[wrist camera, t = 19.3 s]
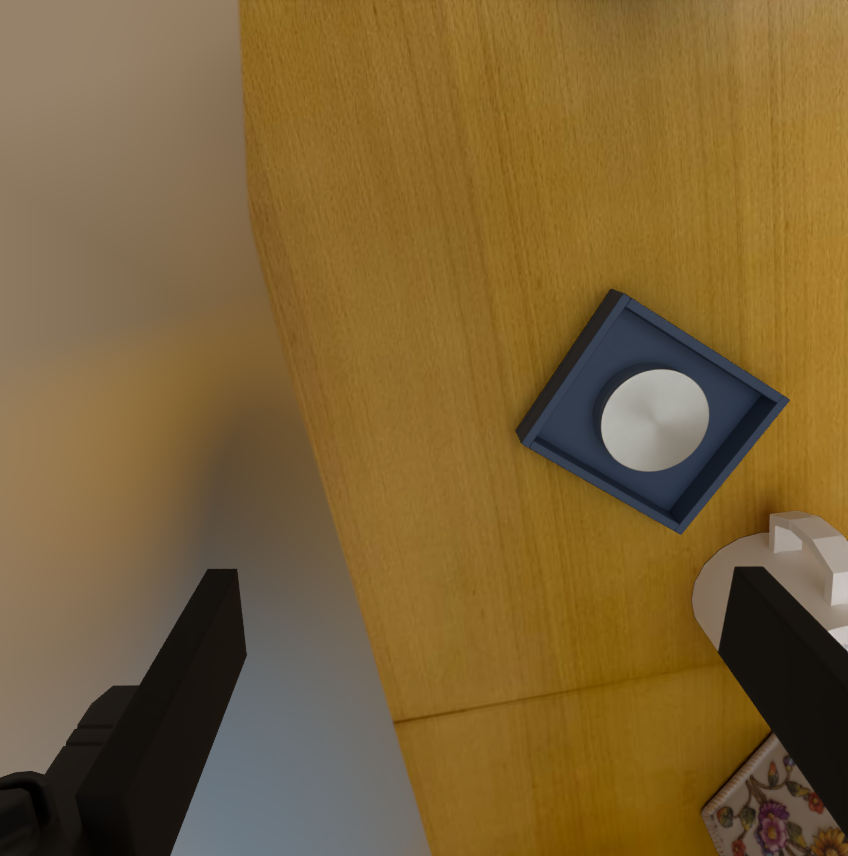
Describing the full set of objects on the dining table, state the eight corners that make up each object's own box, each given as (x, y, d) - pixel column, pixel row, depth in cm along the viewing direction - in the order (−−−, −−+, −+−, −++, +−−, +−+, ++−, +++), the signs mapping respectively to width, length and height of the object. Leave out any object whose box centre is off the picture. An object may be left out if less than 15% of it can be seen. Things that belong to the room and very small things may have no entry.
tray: (515, 430, 42) (521, 443, 40) (610, 288, 39) (623, 293, 37) (666, 517, 45) (681, 535, 42) (768, 389, 42) (790, 400, 39)
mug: (690, 501, 44) (771, 583, 34) (834, 481, 44) (959, 559, 34) (691, 655, 48) (763, 769, 38) (823, 639, 48) (930, 750, 38)
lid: (645, 481, 43) (655, 492, 41) (570, 423, 42) (577, 432, 40) (718, 403, 41) (732, 411, 39) (643, 340, 40) (653, 346, 38)
